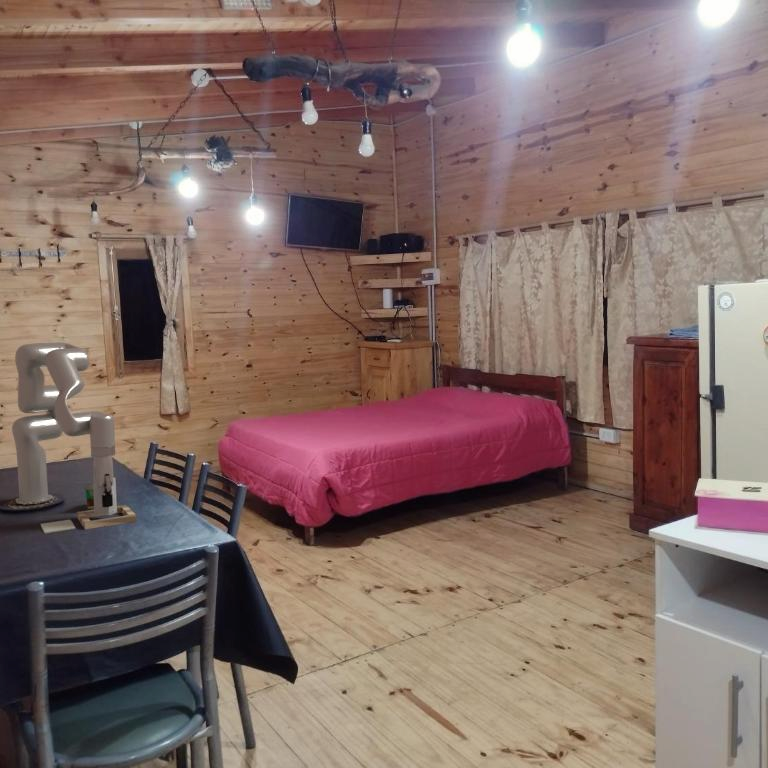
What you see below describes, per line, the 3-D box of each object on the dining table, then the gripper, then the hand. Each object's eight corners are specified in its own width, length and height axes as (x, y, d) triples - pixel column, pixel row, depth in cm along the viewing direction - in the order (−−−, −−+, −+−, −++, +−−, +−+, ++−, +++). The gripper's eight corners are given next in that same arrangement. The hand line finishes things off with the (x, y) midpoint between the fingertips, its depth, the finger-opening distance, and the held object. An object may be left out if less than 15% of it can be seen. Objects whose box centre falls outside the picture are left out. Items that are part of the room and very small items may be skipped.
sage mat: (40, 525, 235) (40, 523, 235) (70, 520, 240) (70, 519, 240) (44, 533, 226) (44, 532, 226) (75, 528, 230) (75, 527, 230)
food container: (101, 512, 249) (99, 484, 248) (85, 512, 251) (83, 483, 250) (121, 503, 261) (119, 476, 260) (105, 502, 263) (104, 475, 262)
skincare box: (117, 512, 242) (116, 477, 240) (108, 515, 238) (107, 480, 236) (102, 510, 244) (101, 476, 242) (93, 514, 240) (92, 478, 238)
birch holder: (77, 517, 243) (77, 512, 243) (126, 510, 251) (126, 505, 251) (85, 529, 230) (84, 523, 229) (137, 521, 238) (136, 515, 238)
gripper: (86, 448, 244) (88, 499, 246) (95, 457, 229) (98, 511, 231) (109, 446, 248) (112, 496, 249) (120, 454, 233) (122, 508, 235)
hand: (105, 503), depth 240 cm, fingers closed on skincare box, 7 cm apart
